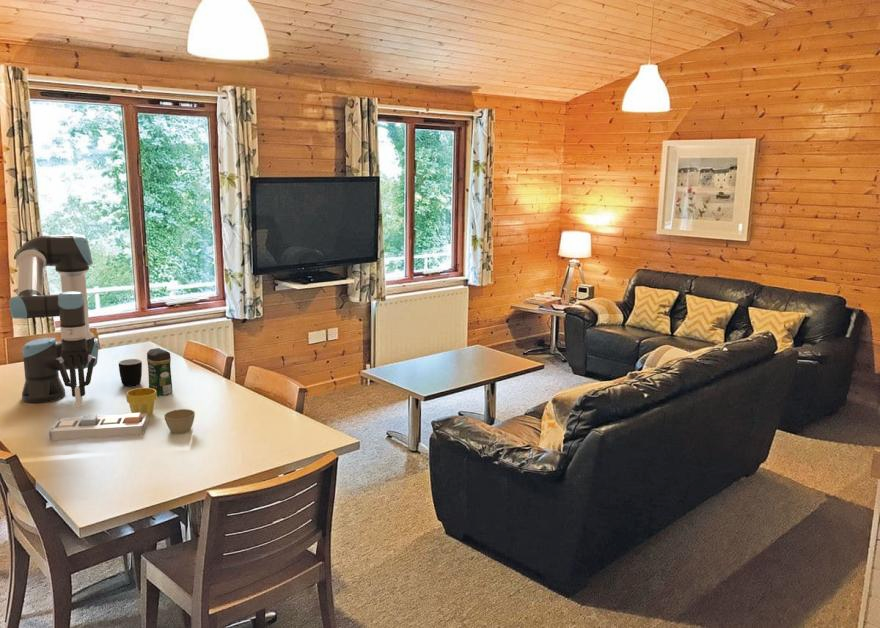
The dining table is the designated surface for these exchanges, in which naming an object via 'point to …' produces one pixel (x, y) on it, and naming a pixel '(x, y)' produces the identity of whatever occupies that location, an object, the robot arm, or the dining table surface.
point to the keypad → (98, 428)
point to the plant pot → (142, 400)
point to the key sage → (111, 421)
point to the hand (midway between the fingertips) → (79, 405)
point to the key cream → (67, 424)
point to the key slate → (89, 420)
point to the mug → (130, 372)
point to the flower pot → (179, 420)
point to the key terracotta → (132, 418)
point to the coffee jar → (159, 371)
